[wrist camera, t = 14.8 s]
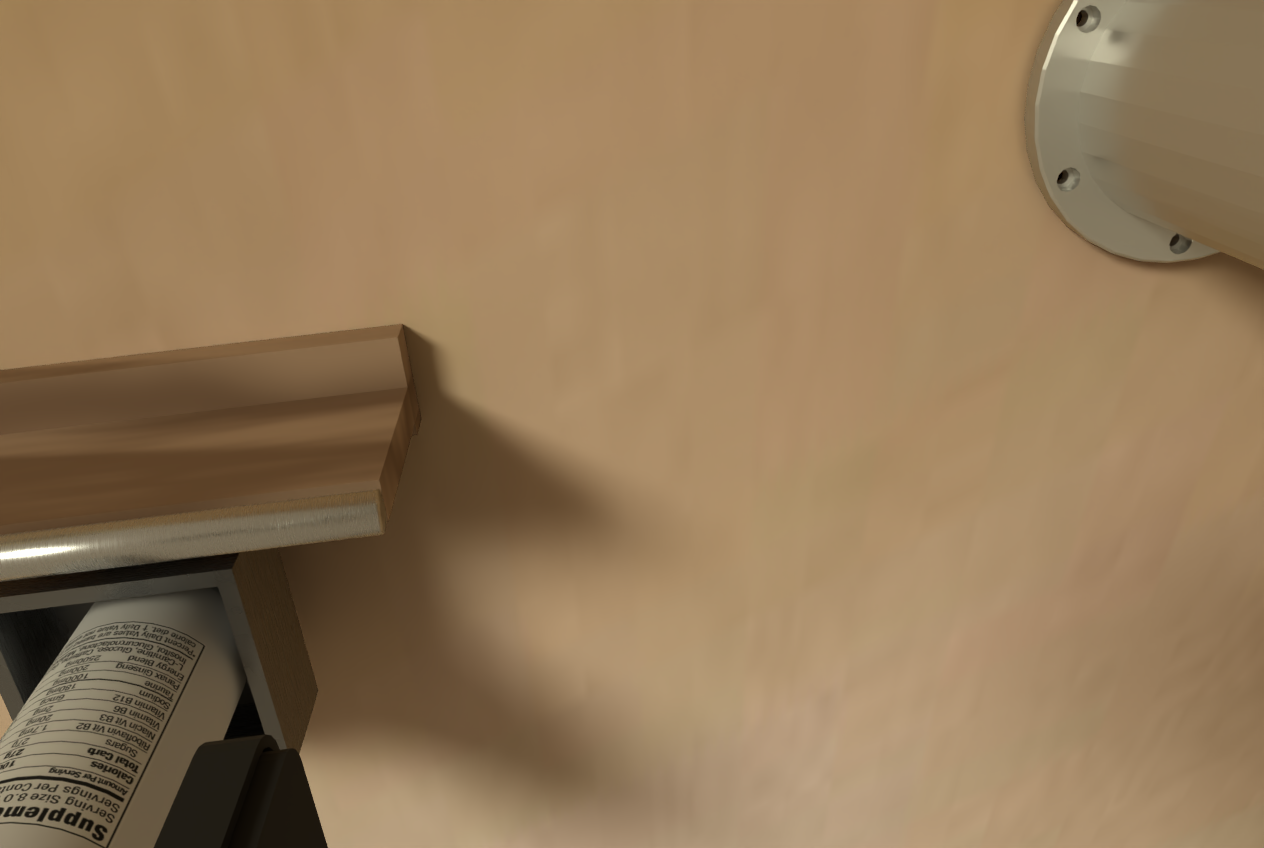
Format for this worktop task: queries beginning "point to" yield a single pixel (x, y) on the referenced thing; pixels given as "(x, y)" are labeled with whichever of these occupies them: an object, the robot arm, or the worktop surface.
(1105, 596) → the worktop surface
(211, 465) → the cup bracket
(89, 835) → the energy drink can
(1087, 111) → the robot arm
